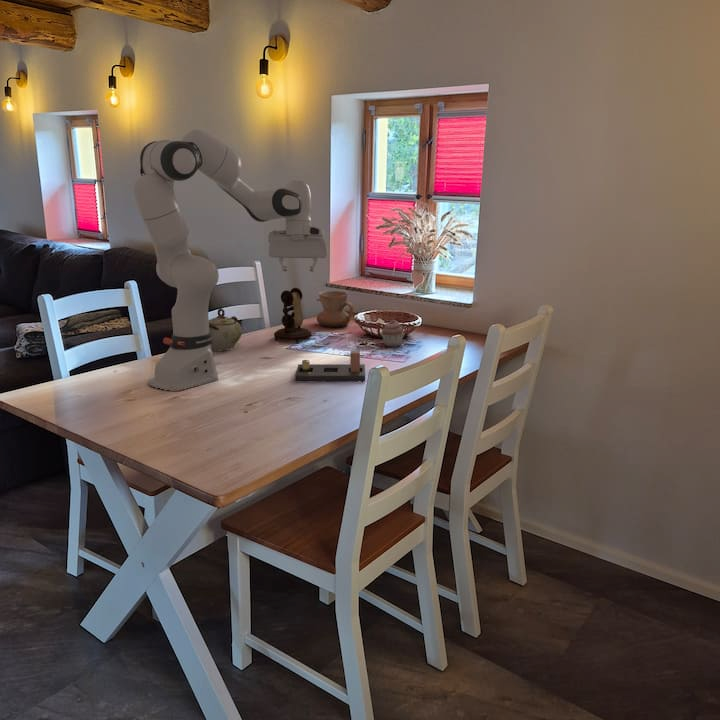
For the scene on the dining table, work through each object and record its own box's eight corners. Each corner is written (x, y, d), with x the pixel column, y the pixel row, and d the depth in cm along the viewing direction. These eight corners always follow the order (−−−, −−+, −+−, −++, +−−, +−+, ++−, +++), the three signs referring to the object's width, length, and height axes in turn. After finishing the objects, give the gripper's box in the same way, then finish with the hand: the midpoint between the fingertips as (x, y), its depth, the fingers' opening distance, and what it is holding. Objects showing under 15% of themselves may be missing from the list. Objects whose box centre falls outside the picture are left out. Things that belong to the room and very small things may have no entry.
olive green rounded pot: (222, 339, 244) (219, 302, 239) (254, 344, 238) (252, 305, 233) (189, 352, 226) (186, 312, 222) (223, 357, 220) (220, 316, 216)
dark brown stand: (299, 345, 235) (298, 293, 230) (266, 341, 242) (264, 290, 236) (318, 337, 248) (317, 287, 243) (286, 333, 254) (285, 284, 249)
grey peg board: (295, 381, 194) (294, 366, 193) (298, 370, 206) (298, 355, 204) (365, 381, 194) (365, 366, 193) (364, 370, 206) (364, 355, 205)
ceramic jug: (307, 326, 266) (307, 293, 262) (327, 319, 278) (326, 288, 273) (342, 332, 257) (342, 298, 253) (361, 325, 269) (361, 292, 264)
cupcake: (375, 345, 235) (376, 320, 232) (387, 340, 243) (388, 315, 240) (397, 349, 231) (398, 323, 228) (409, 343, 238) (409, 318, 235)
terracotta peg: (350, 377, 199) (350, 353, 196) (350, 374, 202) (350, 350, 199) (359, 377, 199) (359, 353, 196) (359, 374, 202) (359, 350, 199)
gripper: (266, 229, 210) (266, 270, 211) (327, 230, 209) (326, 271, 211) (269, 231, 216) (269, 271, 217) (328, 232, 216) (328, 272, 217)
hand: (298, 271), depth 214 cm, fingers open, 8 cm apart
